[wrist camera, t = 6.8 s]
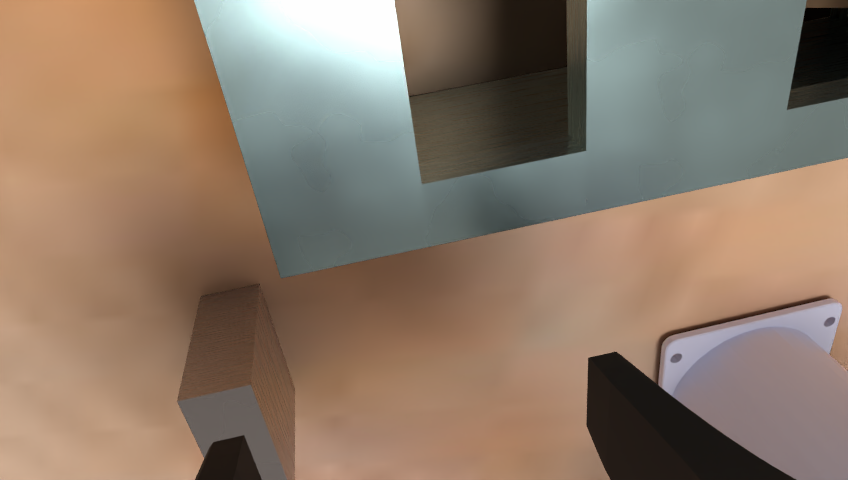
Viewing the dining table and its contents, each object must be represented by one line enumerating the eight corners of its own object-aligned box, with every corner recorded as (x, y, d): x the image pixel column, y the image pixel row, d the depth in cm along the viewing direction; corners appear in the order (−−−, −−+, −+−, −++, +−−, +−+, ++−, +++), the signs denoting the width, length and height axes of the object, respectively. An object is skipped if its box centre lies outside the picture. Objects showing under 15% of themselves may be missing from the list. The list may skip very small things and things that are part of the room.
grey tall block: (294, 388, 24) (294, 498, 20) (242, 399, 24) (231, 514, 19) (259, 283, 21) (250, 384, 17) (200, 296, 21) (176, 401, 17)
